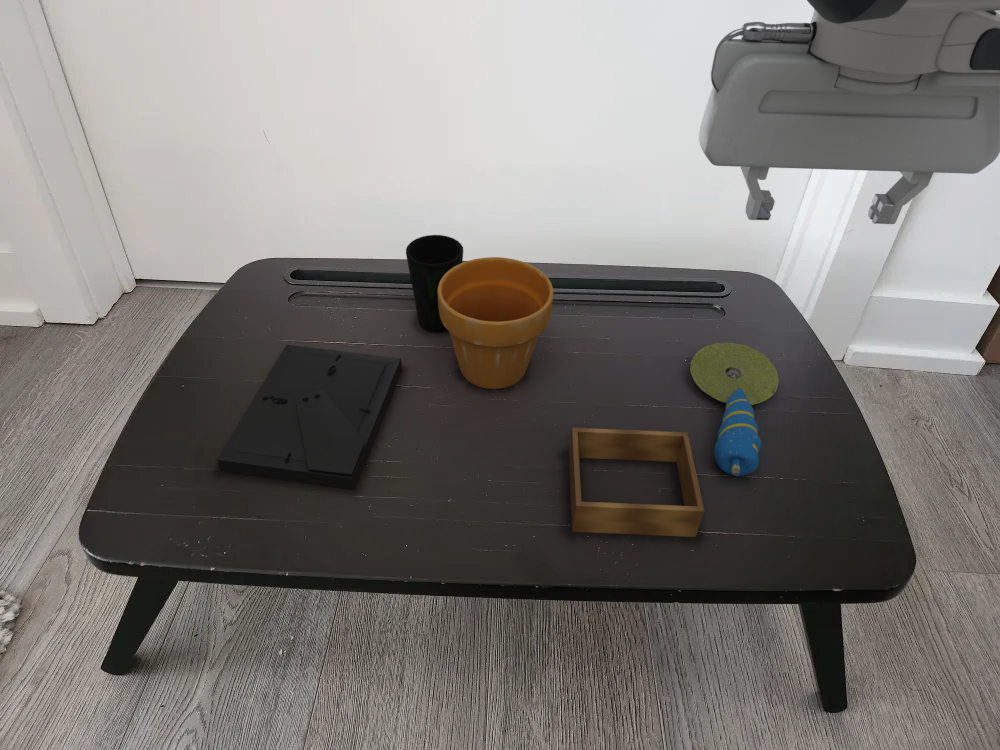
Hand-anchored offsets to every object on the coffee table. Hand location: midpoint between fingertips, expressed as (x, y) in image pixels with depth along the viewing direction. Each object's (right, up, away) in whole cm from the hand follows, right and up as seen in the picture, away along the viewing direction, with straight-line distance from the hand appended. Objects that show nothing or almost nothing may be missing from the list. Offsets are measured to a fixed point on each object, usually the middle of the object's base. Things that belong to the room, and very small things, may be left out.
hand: (818, 218), depth 55 cm
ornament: (+6, -14, +36) cm, 39 cm away
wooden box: (-10, -25, +26) cm, 38 cm away
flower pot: (-25, -11, +42) cm, 50 cm away
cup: (-33, -4, +49) cm, 60 cm away
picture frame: (-47, -17, +34) cm, 60 cm away
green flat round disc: (+6, -13, +40) cm, 43 cm away
